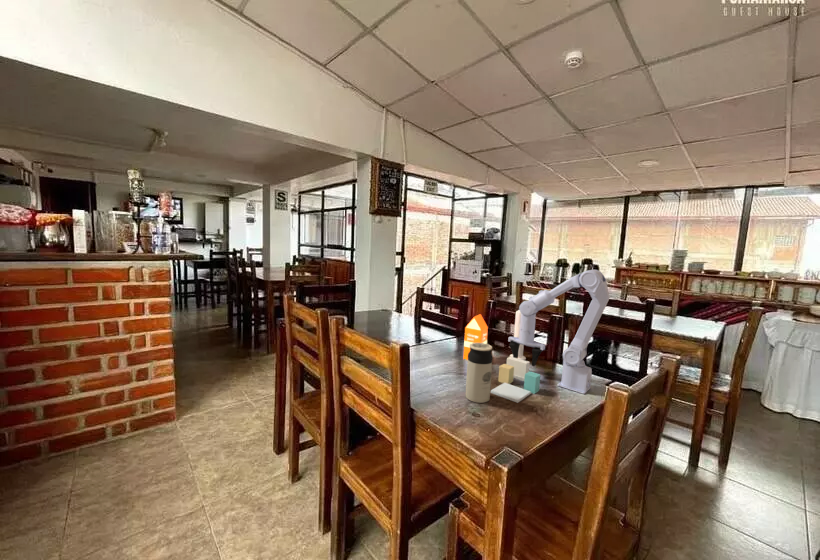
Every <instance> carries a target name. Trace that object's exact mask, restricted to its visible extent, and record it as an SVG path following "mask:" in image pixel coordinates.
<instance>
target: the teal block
mask: <svg viewBox="0 0 820 560" xmlns="http://www.w3.org/2000/svg"><path fill="white" fill-rule="evenodd" d="M540 383H541V374H540V373H536V372H533V371H530V370H529V372H528V373H526V374H525V379H524V381H523V389H525V390H528V391H531V394H534V395H535V394H536V393H538V392H539V391H540V385H541V384H540Z"/></svg>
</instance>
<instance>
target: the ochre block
mask: <svg viewBox="0 0 820 560" xmlns="http://www.w3.org/2000/svg"><path fill="white" fill-rule="evenodd" d="M513 376H514V366H510V365H507V363H503V364H501V365H499V367H498V379H497V380H498V381H497V382H499V383H501V384H503V383H504V382H505V383H508V384H510V385H511V384H512V383H514V378H513Z"/></svg>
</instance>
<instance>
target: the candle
mask: <svg viewBox="0 0 820 560" xmlns="http://www.w3.org/2000/svg"><path fill="white" fill-rule="evenodd" d="M514 318H515V319H514V331H513V334H514V335H513V337H517V338H519V332H520V319H521V312H520V310H519V309H518V310H516V311H515V317H514ZM524 346H525V345H522V344H520V346H519V350H518V359H521V360H525V361H526V359H527V358H526V356H524ZM509 357H513V353H512V354H509Z"/></svg>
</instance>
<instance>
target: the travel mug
mask: <svg viewBox="0 0 820 560" xmlns="http://www.w3.org/2000/svg"><path fill="white" fill-rule="evenodd" d="M469 347H470V352H469V353H468V360H467V365H466V379H465V380H466V381H465V382H466V383H465V398H466V399H467V400H469V401H471V402H473V403H477V404H479V403H481V404H482V403H487V402H489V401H490V398H491V397H490V396H491V383H492V370H493V369H492V367H493V355H492V353H491V352H492V350H493V346H492V345H490V344H489V343H487V344H485V343H471V344H470V345H469Z"/></svg>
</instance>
